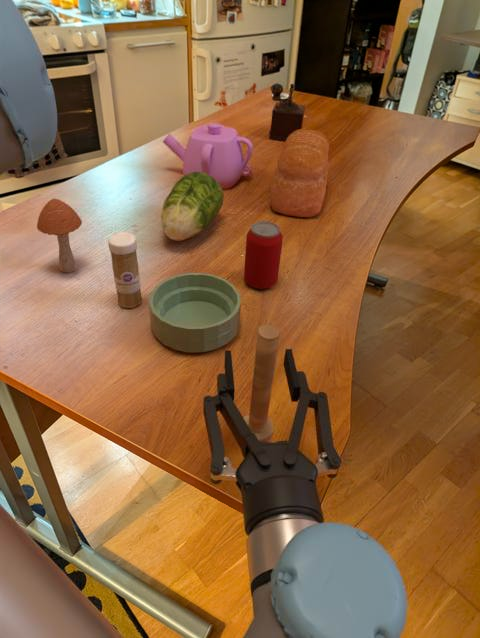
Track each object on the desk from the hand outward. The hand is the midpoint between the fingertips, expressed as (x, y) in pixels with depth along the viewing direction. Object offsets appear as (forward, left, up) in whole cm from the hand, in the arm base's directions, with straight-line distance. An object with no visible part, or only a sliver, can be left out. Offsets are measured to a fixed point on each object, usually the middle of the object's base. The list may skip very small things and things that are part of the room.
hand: (257, 357), depth 60 cm
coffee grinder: (+23, +115, -11) cm, 118 cm away
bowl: (-8, +19, -11) cm, 23 cm away
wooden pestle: (0, -5, -11) cm, 12 cm away
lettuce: (-9, +52, -11) cm, 54 cm away
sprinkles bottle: (-20, +26, -11) cm, 35 cm away
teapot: (-4, +83, -11) cm, 84 cm away
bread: (+20, +71, -11) cm, 75 cm away
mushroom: (-33, +37, -11) cm, 51 cm away
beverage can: (+5, +32, -11) cm, 34 cm away
